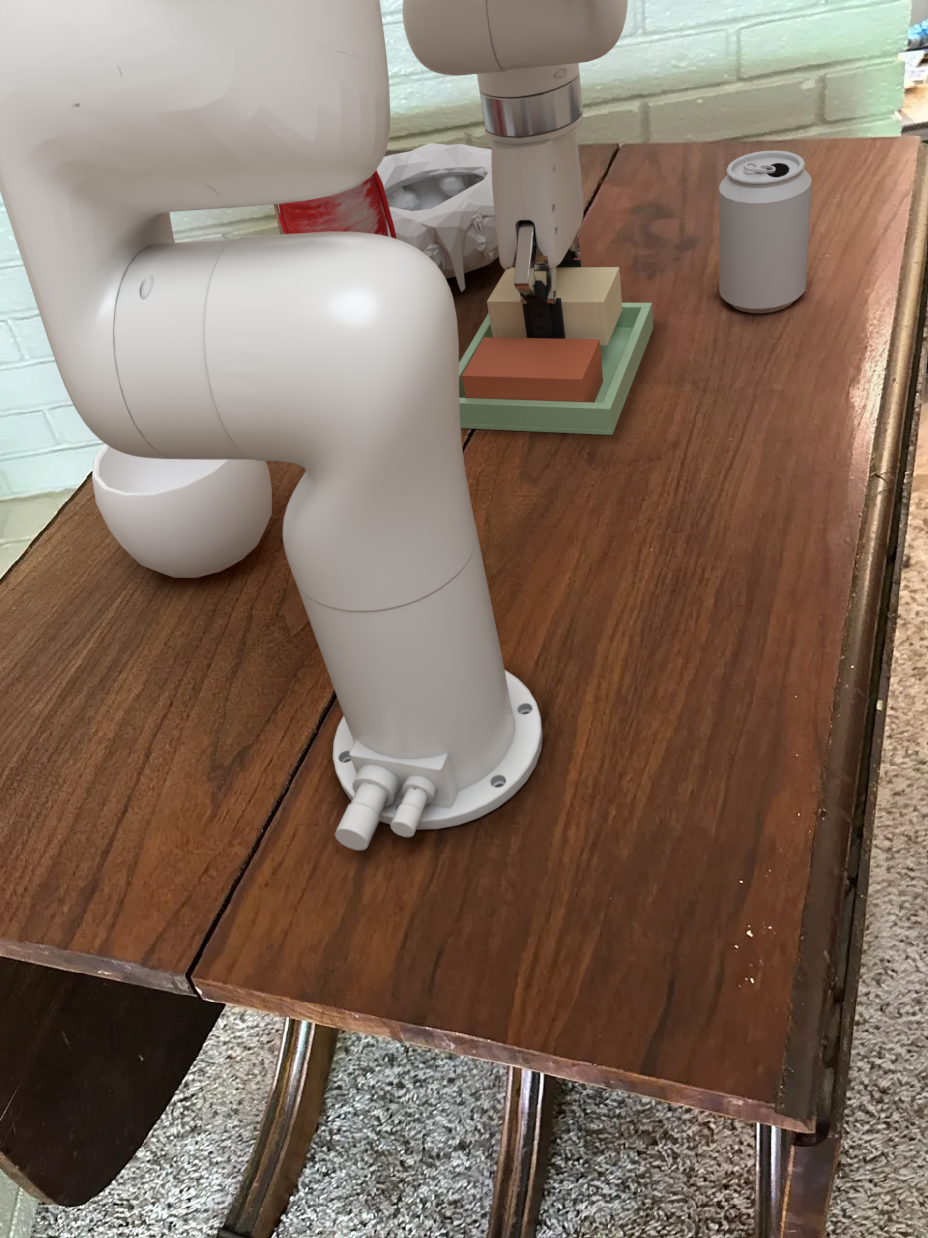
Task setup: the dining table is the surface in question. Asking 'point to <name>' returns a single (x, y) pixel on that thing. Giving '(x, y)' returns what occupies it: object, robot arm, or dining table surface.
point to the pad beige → (563, 303)
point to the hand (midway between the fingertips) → (556, 320)
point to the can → (764, 231)
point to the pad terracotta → (535, 370)
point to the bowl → (443, 205)
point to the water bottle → (340, 212)
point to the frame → (559, 415)
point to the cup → (183, 509)
